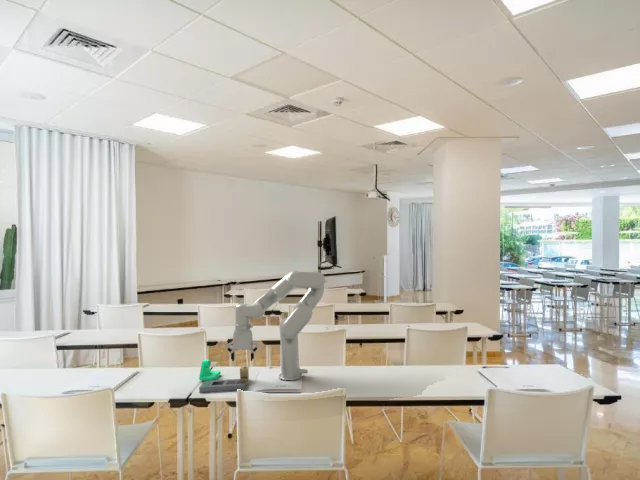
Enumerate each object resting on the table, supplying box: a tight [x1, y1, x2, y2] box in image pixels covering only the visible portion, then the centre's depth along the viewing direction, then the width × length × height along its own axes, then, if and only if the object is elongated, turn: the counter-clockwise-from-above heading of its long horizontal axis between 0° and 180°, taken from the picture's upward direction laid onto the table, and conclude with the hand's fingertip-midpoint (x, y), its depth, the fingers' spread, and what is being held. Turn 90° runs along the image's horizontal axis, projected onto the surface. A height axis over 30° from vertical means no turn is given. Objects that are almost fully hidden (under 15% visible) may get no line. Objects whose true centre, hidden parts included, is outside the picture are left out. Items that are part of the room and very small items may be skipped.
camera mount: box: [198, 359, 222, 381], centre depth 210 cm, size 12×8×10 cm, turn 175°
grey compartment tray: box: [198, 378, 249, 394], centre depth 194 cm, size 22×10×3 cm, turn 94°
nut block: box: [239, 365, 250, 382], centre depth 203 cm, size 4×4×7 cm
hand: (242, 360), depth 204 cm, fingers open, 9 cm apart
